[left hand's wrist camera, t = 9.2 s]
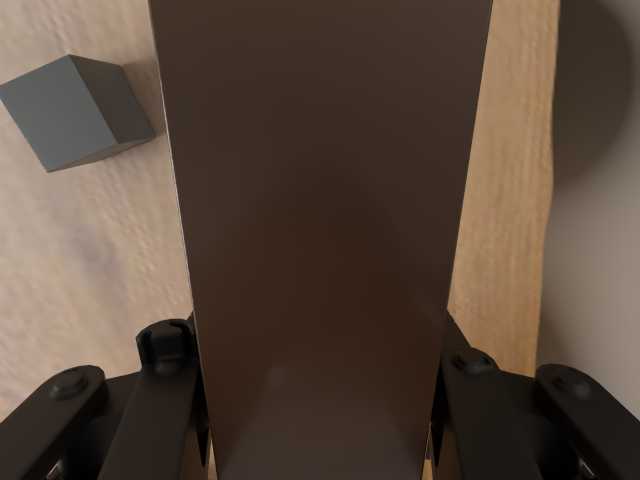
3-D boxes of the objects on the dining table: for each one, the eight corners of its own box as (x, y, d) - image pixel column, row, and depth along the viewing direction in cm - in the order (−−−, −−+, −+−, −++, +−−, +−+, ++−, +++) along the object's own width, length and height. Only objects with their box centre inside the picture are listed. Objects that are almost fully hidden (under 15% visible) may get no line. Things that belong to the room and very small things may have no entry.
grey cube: (156, 137, 25) (118, 143, 20) (96, 161, 26) (46, 173, 21) (119, 64, 23) (69, 53, 19) (56, 92, 24) (-8, 88, 19)
